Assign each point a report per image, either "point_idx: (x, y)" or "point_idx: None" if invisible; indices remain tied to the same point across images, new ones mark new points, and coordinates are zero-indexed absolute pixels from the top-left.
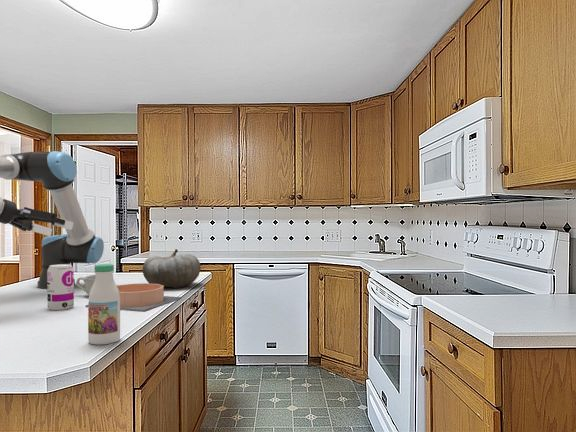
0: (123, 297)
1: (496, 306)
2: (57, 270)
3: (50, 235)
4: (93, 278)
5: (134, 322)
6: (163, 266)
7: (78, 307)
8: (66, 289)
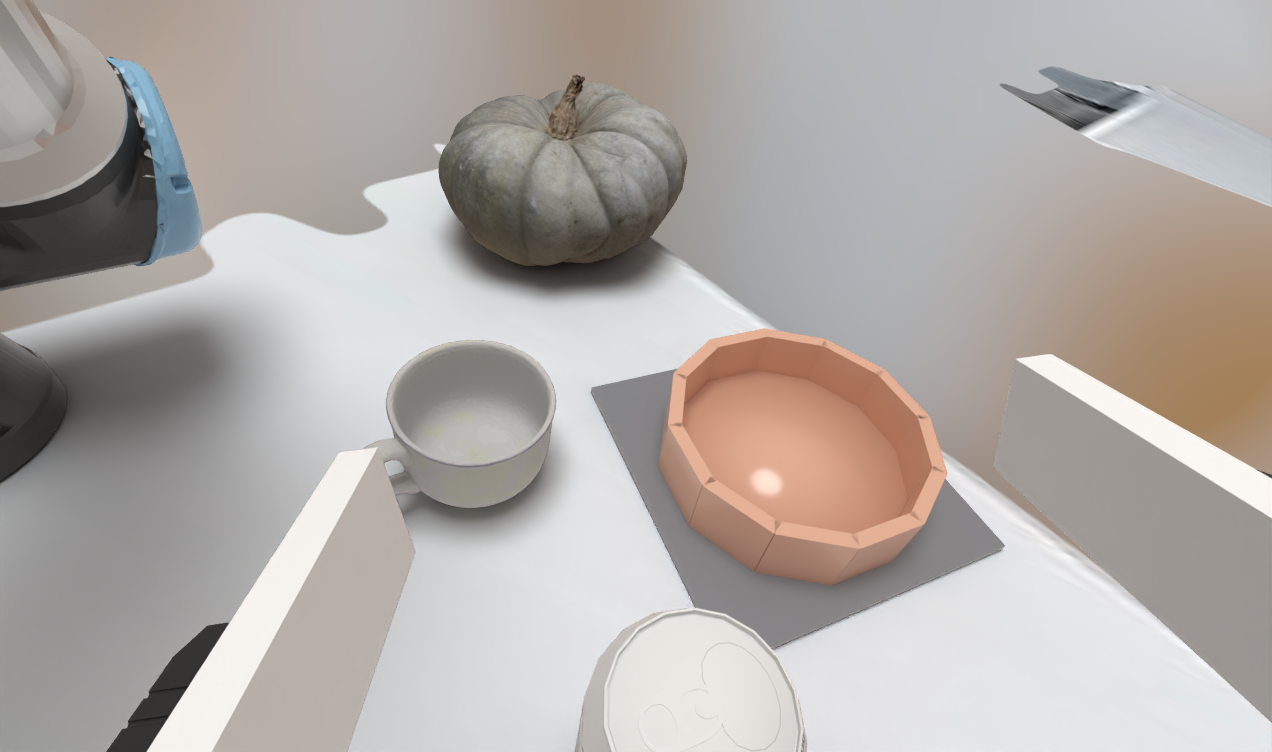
0: (908, 539)
1: (1236, 161)
2: None
3: (411, 544)
4: (401, 400)
5: (1226, 703)
6: (637, 199)
7: None
8: None
